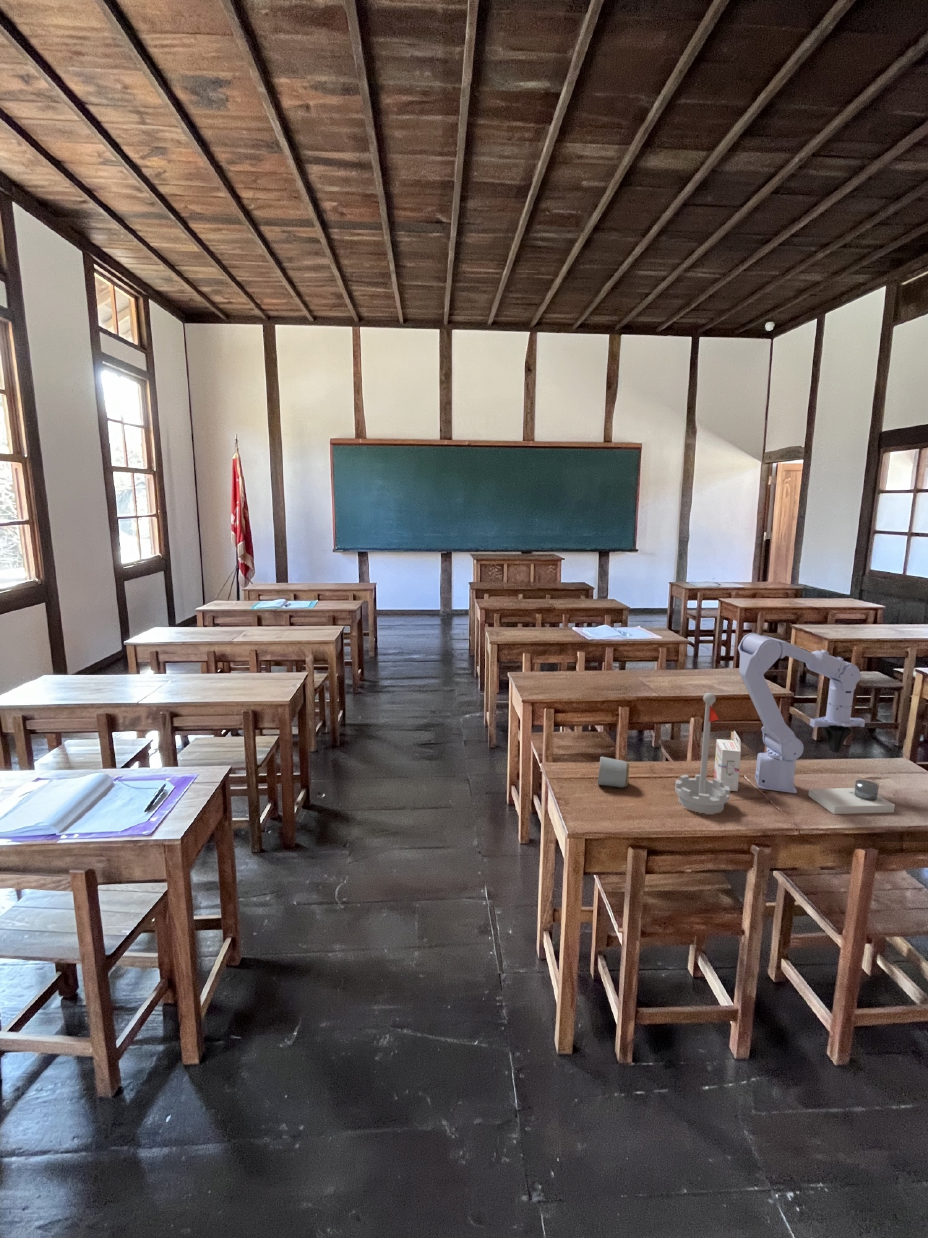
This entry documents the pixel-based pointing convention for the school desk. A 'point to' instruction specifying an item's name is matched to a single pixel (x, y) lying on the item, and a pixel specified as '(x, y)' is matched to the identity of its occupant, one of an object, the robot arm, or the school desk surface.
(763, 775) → the robot arm
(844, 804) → the board
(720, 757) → the ink cartridge box
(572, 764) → the school desk surface
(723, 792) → the flag stand
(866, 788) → the peg
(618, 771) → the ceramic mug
